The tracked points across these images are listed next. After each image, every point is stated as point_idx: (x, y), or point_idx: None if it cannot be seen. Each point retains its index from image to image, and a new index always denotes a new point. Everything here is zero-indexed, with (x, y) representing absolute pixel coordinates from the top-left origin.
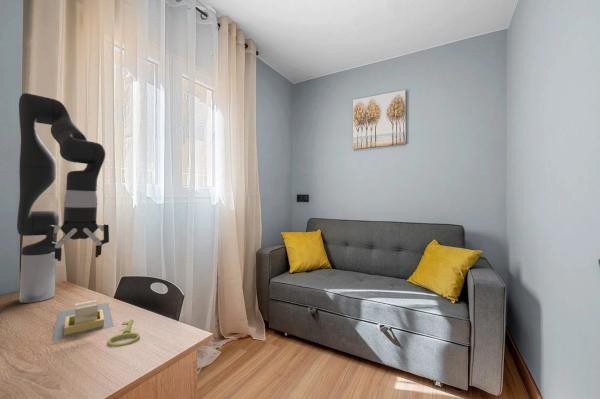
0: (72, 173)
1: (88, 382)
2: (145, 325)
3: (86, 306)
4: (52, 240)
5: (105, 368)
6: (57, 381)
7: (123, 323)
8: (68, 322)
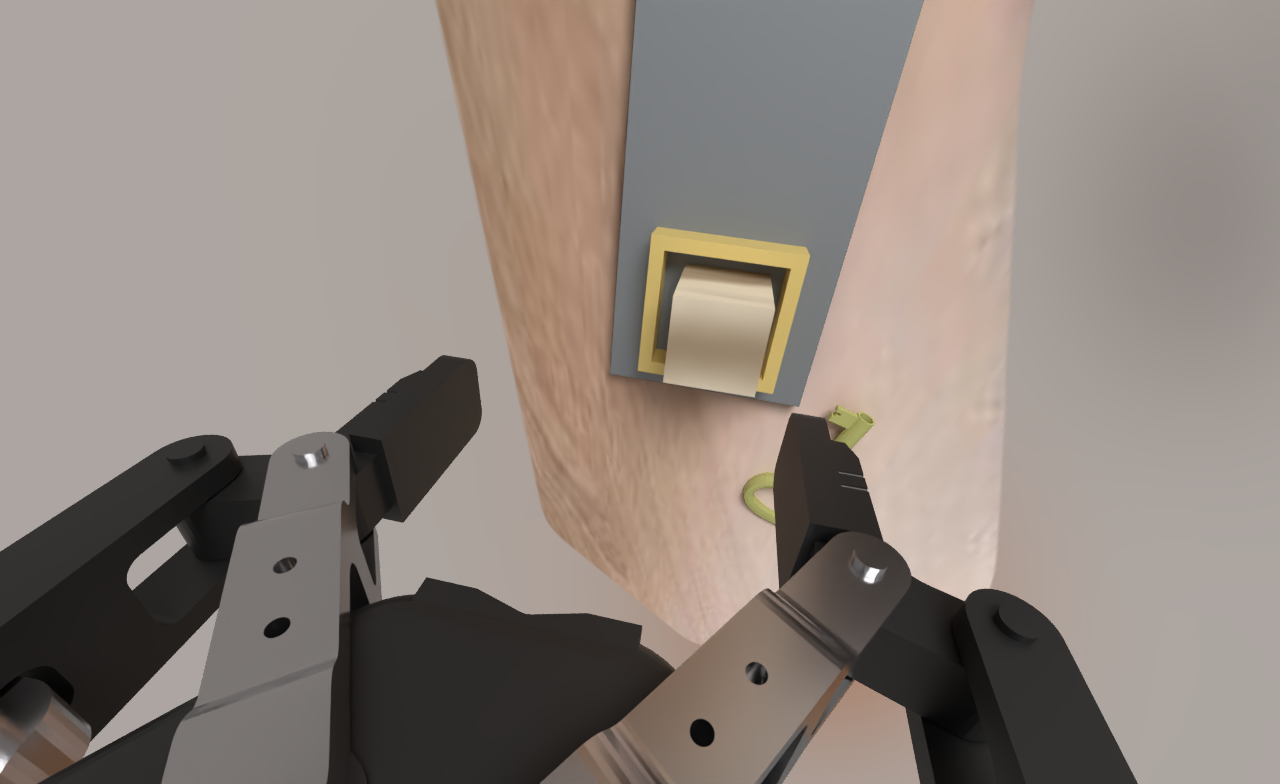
0: None
1: (670, 597)
2: (900, 451)
3: (709, 379)
4: (212, 604)
5: (707, 581)
6: (623, 555)
7: (834, 419)
8: (654, 322)
